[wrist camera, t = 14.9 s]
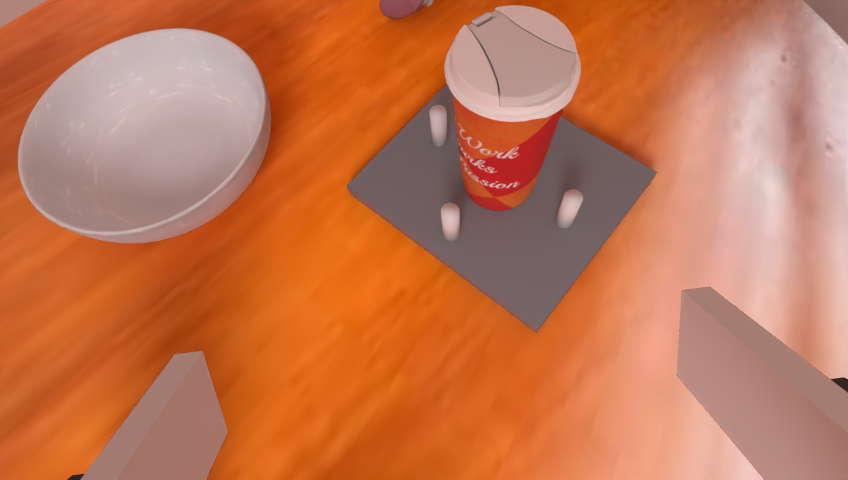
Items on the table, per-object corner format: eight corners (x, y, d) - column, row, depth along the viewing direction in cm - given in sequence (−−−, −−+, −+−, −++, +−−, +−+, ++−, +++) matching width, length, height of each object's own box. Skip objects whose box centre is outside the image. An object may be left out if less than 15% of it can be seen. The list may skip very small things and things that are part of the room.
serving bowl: (316, 88, 52) (296, 35, 45) (249, 284, 43) (213, 253, 37) (128, 67, 54) (84, 15, 48) (33, 248, 46) (-35, 213, 40)
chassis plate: (350, 193, 46) (336, 159, 41) (467, 73, 51) (468, 30, 46) (536, 332, 40) (547, 312, 35) (651, 181, 45) (675, 144, 40)
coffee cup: (431, 169, 45) (417, 37, 31) (508, 124, 46) (527, -21, 33) (487, 243, 42) (499, 132, 28) (568, 192, 43) (617, 62, 29)
